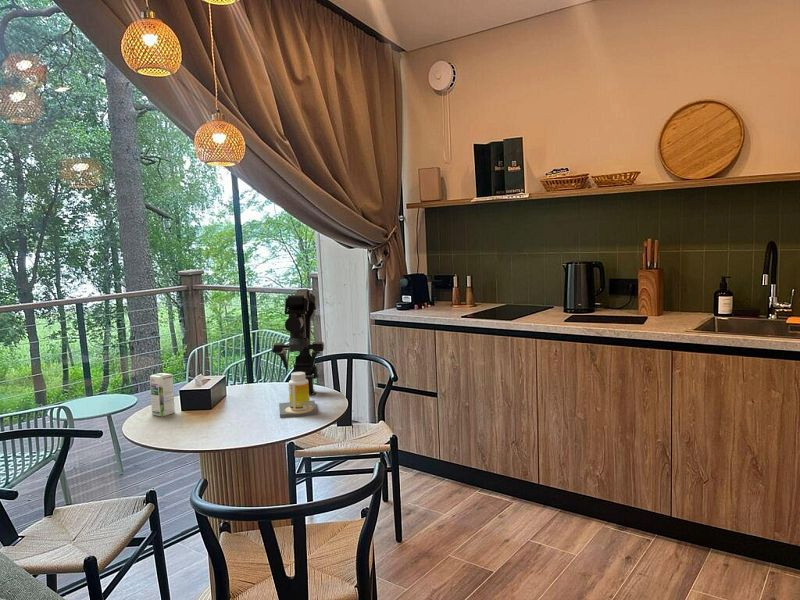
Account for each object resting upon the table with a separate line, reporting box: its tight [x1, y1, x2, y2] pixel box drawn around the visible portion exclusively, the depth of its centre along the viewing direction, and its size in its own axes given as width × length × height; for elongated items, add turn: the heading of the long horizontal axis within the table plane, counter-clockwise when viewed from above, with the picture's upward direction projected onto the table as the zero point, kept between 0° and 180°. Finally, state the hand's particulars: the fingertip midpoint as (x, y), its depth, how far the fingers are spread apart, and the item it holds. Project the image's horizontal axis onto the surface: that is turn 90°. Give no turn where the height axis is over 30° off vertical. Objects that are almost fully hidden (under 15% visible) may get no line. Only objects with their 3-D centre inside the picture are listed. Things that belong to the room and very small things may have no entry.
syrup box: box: [149, 372, 176, 417], centre depth 210 cm, size 6×6×14 cm
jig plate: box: [278, 400, 318, 418], centre depth 210 cm, size 16×13×2 cm
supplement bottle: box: [288, 371, 310, 411], centre depth 207 cm, size 7×7×13 cm
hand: (299, 369), depth 218 cm, fingers open, 9 cm apart
